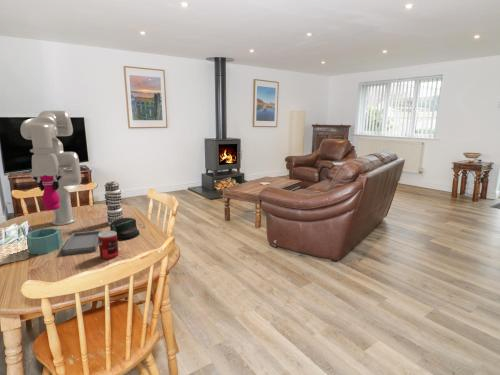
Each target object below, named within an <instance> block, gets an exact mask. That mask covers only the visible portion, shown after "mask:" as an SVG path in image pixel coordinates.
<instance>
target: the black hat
mask: <svg viewBox="0 0 500 375" xmlns="http://www.w3.org/2000/svg"><path fill="white" fill-rule="evenodd" d="M109 226H110V227H109V229H110V230H109V231H115V232H116V233H117V240H118V242H124V241H129V240H133V239H135V238H137V237H139V235H140V229H139V230H138V227H137V220H136V219H135V218H133V217H122V218H121V219H118V220H115V221H113V222H112V223H111V224H109Z"/></svg>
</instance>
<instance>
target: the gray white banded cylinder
mask: <svg viewBox="0 0 500 375" xmlns="http://www.w3.org/2000/svg"><path fill="white" fill-rule="evenodd" d="M104 188H105V189H104V190H105V191H104V192H105V194H104V199H105V205H106V208H107V210H106V211H107V212H106V215H107V216H106V217H107V223H108V225H110V224H111V223H112V222H113V221H115V220H118V219H121V218H124V215H123V210H122V209H123V208H122V205H121V204H122V201H121V200H122V196H121V194H122V192H121V191H122V190H120V189H121V188H120V183H118V182H117V181H108V182H106V183H105V184H104Z"/></svg>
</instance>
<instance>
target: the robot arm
mask: <svg viewBox="0 0 500 375" xmlns="http://www.w3.org/2000/svg"><path fill="white" fill-rule="evenodd" d="M20 125H21V126H20V134H21V136H22V138H23V139H25V140H31V143H32V148H31V149H29V152H30V153H33V154H32V155H31V171H30V173H29V174H28V177H30V178H31V179H33V180H34V181H36V182H37V183H38V189H39V190H40V192H44V185H42V180H41V179H40V177H42V176H44V175H47V176H53V179H54V189H55V190H56V192H57V194H58V195H59V197H60V201H59V203H58V204H60V208H59V209H56V210H52V211H53V217H54V219H53V220H52V221H51V224H52V225H54V226H65V225H70V224H73V223H75V222H77V218H76V217H75V216H73V215H74V214H73V209H72V203H71V200H72V199H71V193H70V192H69V191H68V189H66V187H72V186H79V185H80V184H81V183H82V174H81V166H80V159H79V155H78V154H77V152H75V151H64V145H63V143H62V141H60V139H58V137H69V136H72V135H73V132H74V128H73V123H72V120H71V117H70V115H69V113H68V112H66V111H65V110H43V111H41V112H40V113H39V114H38V116H36V117H32V118H29V119H26V120H25V119H24V120H23V122H22V123H21V124H20ZM67 168H69V169H67ZM62 169H65V170H62Z"/></svg>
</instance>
